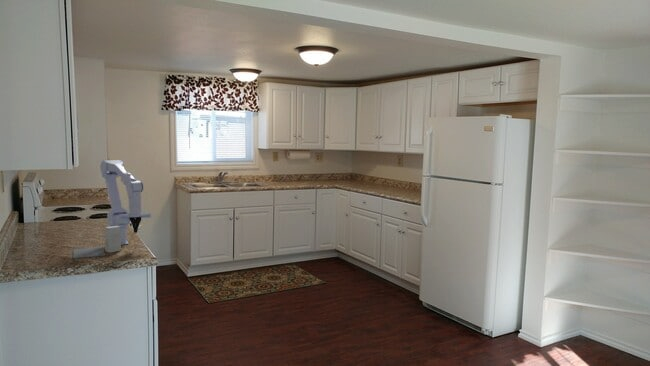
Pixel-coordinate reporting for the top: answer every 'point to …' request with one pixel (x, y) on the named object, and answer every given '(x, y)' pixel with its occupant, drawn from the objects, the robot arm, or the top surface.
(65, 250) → the top surface
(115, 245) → the skincare box
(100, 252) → the mat
